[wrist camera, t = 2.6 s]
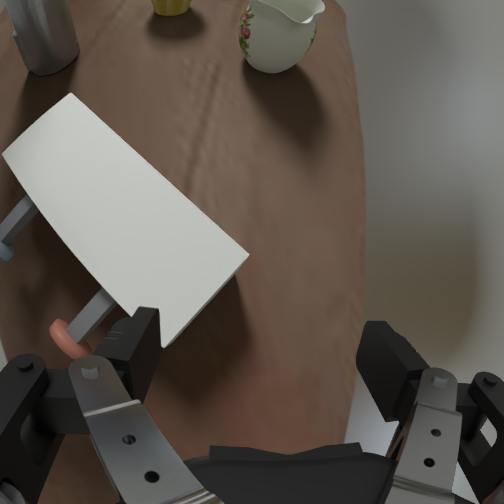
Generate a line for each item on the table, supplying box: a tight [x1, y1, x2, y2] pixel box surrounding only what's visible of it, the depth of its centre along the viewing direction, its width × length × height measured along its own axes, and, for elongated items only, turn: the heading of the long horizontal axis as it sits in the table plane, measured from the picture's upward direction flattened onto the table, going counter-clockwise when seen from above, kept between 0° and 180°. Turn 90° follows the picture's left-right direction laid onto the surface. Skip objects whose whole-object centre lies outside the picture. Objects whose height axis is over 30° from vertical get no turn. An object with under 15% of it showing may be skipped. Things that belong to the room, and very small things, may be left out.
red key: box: [49, 287, 118, 360], centre depth 24 cm, size 8×4×4 cm, turn 139°
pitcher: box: [239, 0, 325, 73], centre depth 36 cm, size 11×18×14 cm, turn 7°
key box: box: [2, 93, 249, 348], centre depth 28 cm, size 10×26×9 cm, turn 49°
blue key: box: [0, 193, 39, 261], centre depth 24 cm, size 8×4×4 cm, turn 139°
